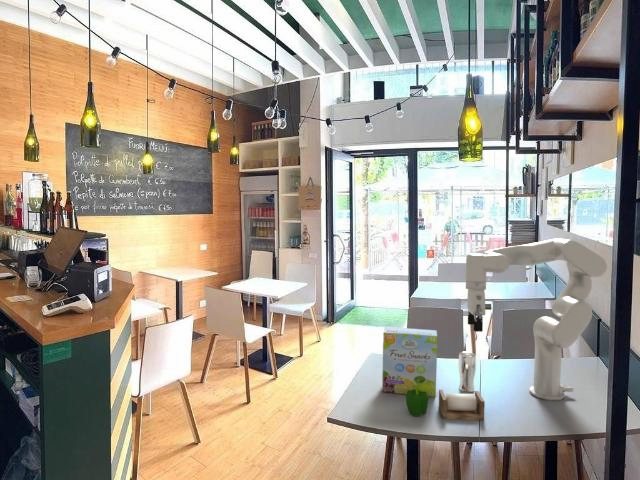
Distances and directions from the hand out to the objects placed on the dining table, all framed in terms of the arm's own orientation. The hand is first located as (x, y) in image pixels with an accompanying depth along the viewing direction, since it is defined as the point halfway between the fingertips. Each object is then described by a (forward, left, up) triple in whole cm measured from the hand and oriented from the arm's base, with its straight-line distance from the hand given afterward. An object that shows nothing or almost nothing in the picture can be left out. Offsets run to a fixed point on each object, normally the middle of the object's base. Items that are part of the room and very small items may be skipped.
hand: (474, 327), depth 175 cm
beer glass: (+1, -7, -28) cm, 29 cm away
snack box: (+25, -3, -28) cm, 38 cm away
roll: (+8, +15, -27) cm, 32 cm away
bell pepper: (+24, +16, -28) cm, 40 cm away
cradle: (+8, +15, -28) cm, 33 cm away
